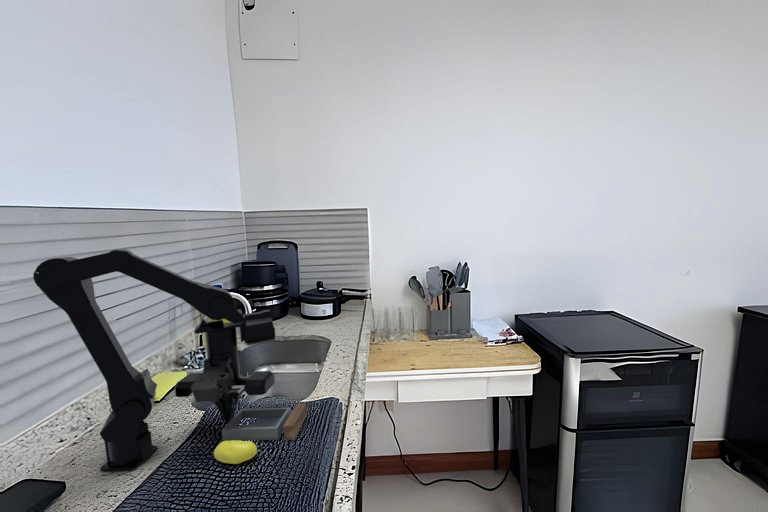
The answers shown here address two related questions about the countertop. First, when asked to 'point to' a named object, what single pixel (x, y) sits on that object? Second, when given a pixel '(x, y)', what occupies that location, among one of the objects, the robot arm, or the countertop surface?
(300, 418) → the rail
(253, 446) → the lemon
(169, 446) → the countertop surface
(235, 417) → the tray
